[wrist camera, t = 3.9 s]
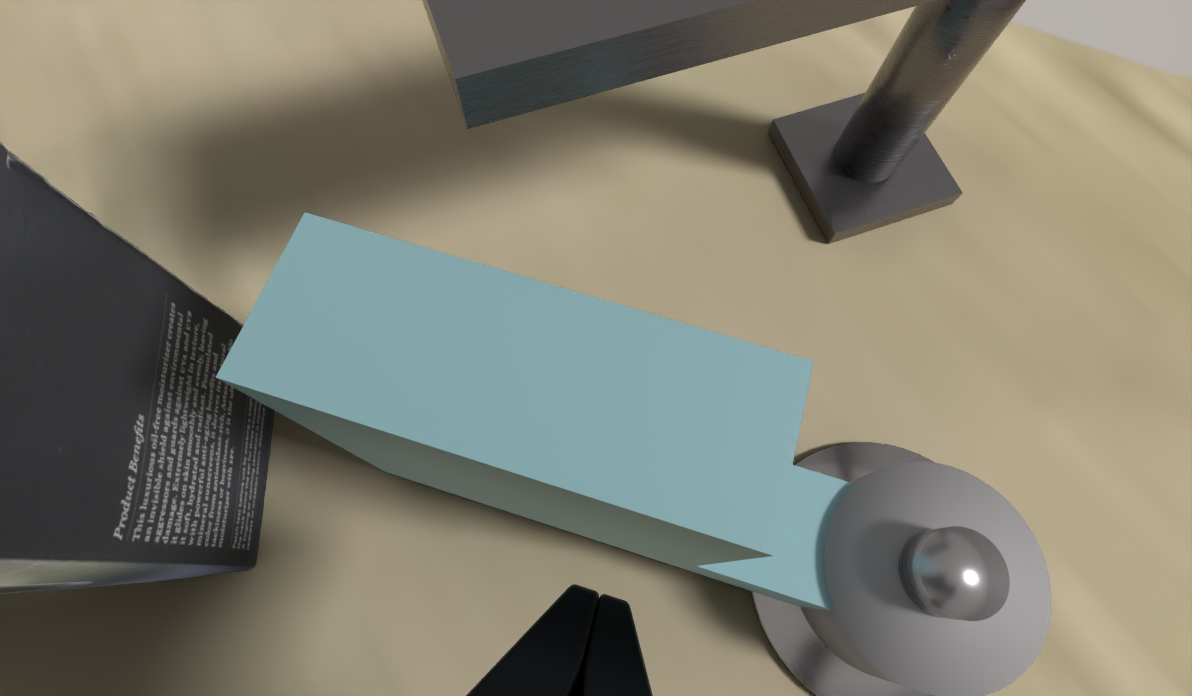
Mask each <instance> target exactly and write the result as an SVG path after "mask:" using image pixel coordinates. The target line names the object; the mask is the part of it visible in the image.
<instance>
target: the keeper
mask: <svg viewBox="0 0 1192 696" xmlns="http://www.w3.org/2000/svg"><path fill="white" fill-rule="evenodd" d="M422 1H423V4H424V7H425V9H426V12H427V15H428V18H429V21H430V24H431V26H432V29H433V32H434V35H435V38H436V41H437V43H438V46H439V49H440V52H441V55H442V58H443V60H444V63H445V66H446V69H447V72H448V75H449V77H450V80H451V83H452V86H453V89H454V92H455V95H456V97H457V100H458V103H459V106H460V109H461V112H462V114H463V117H464V120H465V123H466V126H467V129H469V128H472V127H476V126H480V125H483V124H487V123H490V122H494V121H498V120H501V119H505V118H509V117H512V116H516V115H520V114H523V113H527V112H531V111H534V110H538V109H542V108H545V107H549V106H553V105H556V104H560V103H563V102H567V101H571V100H574V99H578V98H582V97H585V96H589V95H593V94H596V93H600V92H604V91H607V90H611V89H615V88H618V87H622V86H625V85H629V84H633V83H636V82H640V81H644V80H647V79H651V78H655V77H658V76H662V75H666V74H669V73H673V72H677V71H680V70H684V69H688V68H691V67H695V66H698V65H702V64H706V63H709V62H713V61H717V60H720V59H724V58H728V57H731V56H735V55H739V54H742V53H746V52H750V51H753V50H757V49H761V48H764V47H768V46H771V45H775V44H779V43H782V42H786V41H790V40H793V39H797V38H801V37H804V36H808V35H812V34H815V33H819V32H823V31H826V30H830V29H833V28H837V27H841V26H844V25H848V24H852V23H855V22H859V21H863V20H866V19H870V18H874V17H877V16H881V15H885V14H888V13H892V12H896V11H899V10H903V9H906V8H910V7H914V6H916V7H915V9H914V10H913V12H912V14H911V16H910V17H909V19H908V21H907V22H906V24H905V26H904V28H903V29H902V31H901V33H900V34H899V36H898V38H897V40H896V41H895V43H894V45H893V46H892V48H891V50H890V52H889V53H888V55H887V57H886V58H885V60H884V62H883V64H882V65H881V67H880V69H879V70H878V72H877V74H876V76H875V77H874V79H873V81H872V83H871V84H870V86H869V88H868V89H867V91H866V93H864V94H860V95H857V96H853V97H850V98H846V99H843V100H840V101H836V102H833V103H829V104H826V105H822V106H819V107H816V108H812V109H809V110H805V111H802V112H798V113H795V114H791V115H788V116H785V117H781V118H778V119H774V120H773V122H772V124H771V126H770V129H769V131H768V133H769V135H770V136H771V138H772V140H773V142H774V144H775V146H776V148H777V149H778V151H779V153H780V155H781V157H782V159H783V161H784V162H785V164H786V166H787V168H788V170H789V172H790V174H791V175H792V177H793V179H794V181H795V183H796V185H797V187H798V188H799V190H800V192H801V194H802V196H803V198H804V200H805V201H806V203H807V205H808V207H809V209H810V211H811V213H812V214H813V216H814V218H815V220H816V222H817V224H818V226H819V227H820V229H821V231H822V233H823V235H824V237H825V239H826V241H827V242H828V244H829V243H833V242H836V241H839V240H842V239H845V238H848V237H851V236H854V235H857V234H860V233H863V232H866V231H870V230H873V229H876V228H879V227H882V226H885V225H888V224H891V223H894V222H897V221H900V220H904V219H907V218H910V217H913V216H916V215H919V214H922V213H925V212H928V211H931V210H934V209H938V208H941V207H944V206H947V205H950V204H952V203H953V202H954V201H955V200H956V199H957V198H958V197H959V196H960V195H961V194H962V191H961V190H960V188H959V187H958V185H957V183H956V182H955V180H954V179H953V177H952V175H951V174H950V172H949V171H948V169H947V168H946V166H945V164H944V163H943V161H942V160H941V158H940V157H939V155H938V153H937V152H936V150H935V149H934V147H933V146H932V144H931V142H930V141H929V139H928V138H927V136H926V134H925V132H926V130H927V129H928V128H929V126H930V125H931V124H932V122H933V121H934V120H935V118H936V117H937V116H938V115H939V113H940V112H941V111H942V109H943V108H944V107H945V105H946V104H947V103H948V101H949V100H950V99H951V98H952V96H953V95H954V94H955V92H956V91H957V90H958V88H959V87H960V86H961V84H962V83H963V82H964V81H965V79H966V78H967V77H968V75H969V74H970V73H971V71H972V70H973V69H974V68H975V66H976V65H977V64H978V62H979V61H980V60H981V58H982V57H983V56H984V54H985V53H986V52H987V51H988V49H989V48H990V47H991V45H992V44H993V43H994V41H995V40H996V39H997V37H998V36H999V35H1000V34H1001V32H1002V31H1003V30H1004V28H1005V27H1006V26H1007V24H1008V23H1009V22H1010V21H1011V19H1012V18H1013V17H1014V15H1015V14H1016V13H1017V11H1018V10H1019V9H1020V7H1021V6H1022V5H1023V3H1024V2H1025V1H1026V0H422Z"/></svg>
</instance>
